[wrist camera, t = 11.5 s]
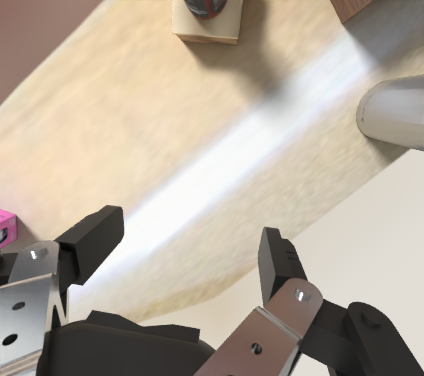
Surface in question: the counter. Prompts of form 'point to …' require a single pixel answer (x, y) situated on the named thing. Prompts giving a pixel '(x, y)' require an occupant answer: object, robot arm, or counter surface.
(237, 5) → the pedestal
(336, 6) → the tissue box cover
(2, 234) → the gum box
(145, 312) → the counter surface
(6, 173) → the counter surface
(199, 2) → the supplement bottle
